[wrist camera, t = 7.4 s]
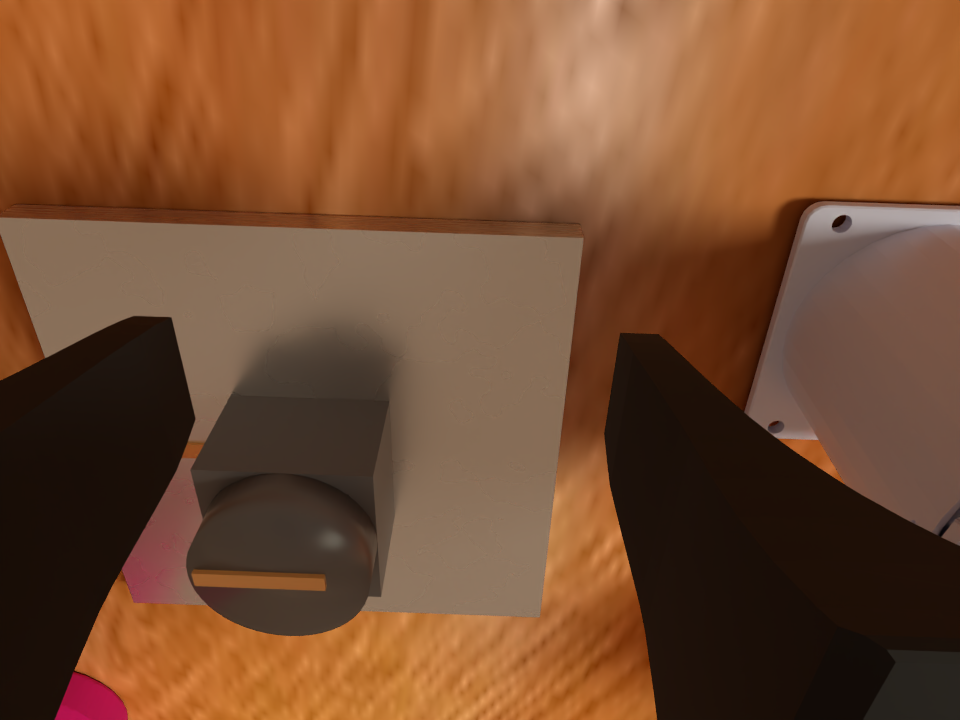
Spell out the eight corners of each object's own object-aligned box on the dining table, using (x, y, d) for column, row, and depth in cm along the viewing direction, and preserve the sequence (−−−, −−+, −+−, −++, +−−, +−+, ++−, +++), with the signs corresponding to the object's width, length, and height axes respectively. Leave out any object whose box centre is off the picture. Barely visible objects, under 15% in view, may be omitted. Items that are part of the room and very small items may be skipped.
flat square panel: (580, 223, 20) (594, 279, 17) (538, 596, 29) (543, 675, 26) (15, 204, 20) (-68, 255, 17) (144, 582, 29) (104, 659, 26)
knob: (389, 400, 22) (362, 520, 18) (395, 515, 25) (373, 643, 21) (230, 394, 22) (166, 513, 18) (253, 510, 25) (202, 636, 21)
